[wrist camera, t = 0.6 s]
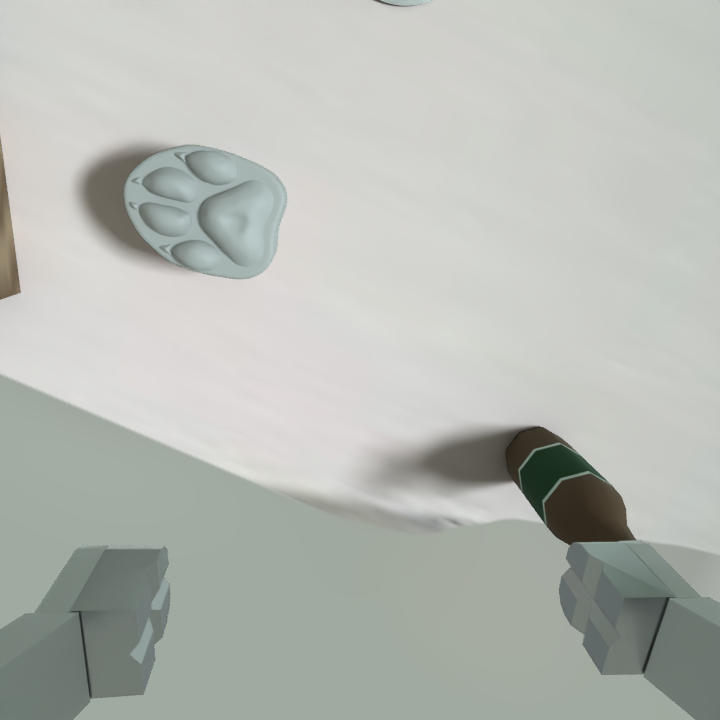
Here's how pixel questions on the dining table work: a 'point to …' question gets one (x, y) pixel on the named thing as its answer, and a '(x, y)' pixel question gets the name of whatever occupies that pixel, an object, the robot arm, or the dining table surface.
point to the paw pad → (207, 210)
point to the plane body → (6, 242)
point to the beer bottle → (566, 489)
